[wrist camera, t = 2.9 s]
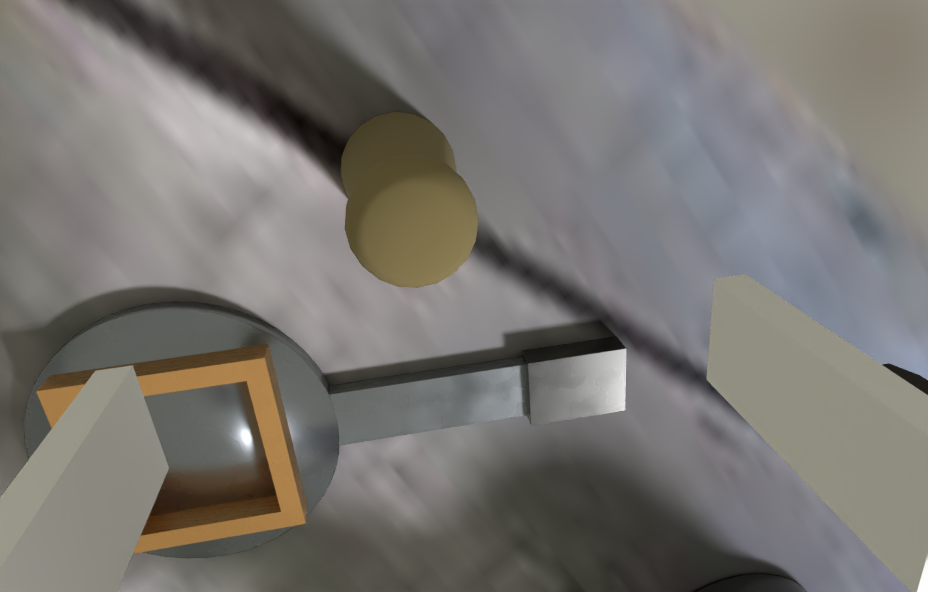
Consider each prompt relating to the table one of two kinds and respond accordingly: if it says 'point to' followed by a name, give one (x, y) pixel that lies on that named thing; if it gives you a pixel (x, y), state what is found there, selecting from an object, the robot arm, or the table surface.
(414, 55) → the table surface
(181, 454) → the round pan with handle
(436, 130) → the cork
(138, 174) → the table surface
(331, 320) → the table surface
